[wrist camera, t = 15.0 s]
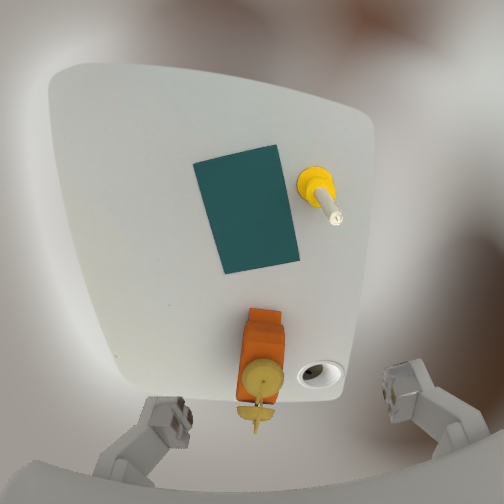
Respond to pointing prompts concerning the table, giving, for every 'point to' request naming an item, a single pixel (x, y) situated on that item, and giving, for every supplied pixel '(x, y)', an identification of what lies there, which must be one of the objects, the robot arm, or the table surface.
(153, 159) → the table surface
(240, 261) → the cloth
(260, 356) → the alarm clock
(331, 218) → the candle
